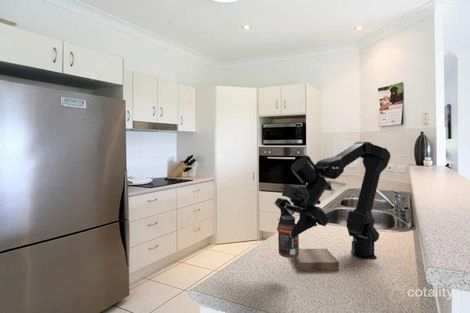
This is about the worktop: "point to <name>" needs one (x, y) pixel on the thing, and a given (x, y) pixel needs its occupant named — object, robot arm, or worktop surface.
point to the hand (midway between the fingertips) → (284, 233)
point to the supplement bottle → (287, 238)
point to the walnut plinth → (316, 260)
